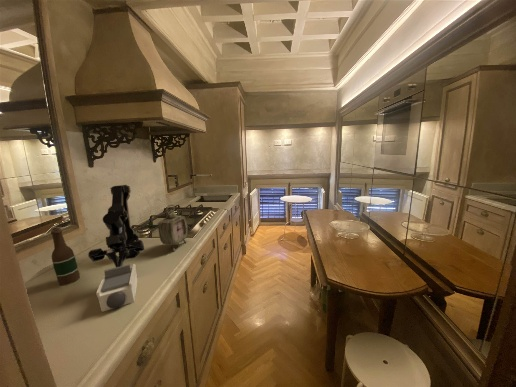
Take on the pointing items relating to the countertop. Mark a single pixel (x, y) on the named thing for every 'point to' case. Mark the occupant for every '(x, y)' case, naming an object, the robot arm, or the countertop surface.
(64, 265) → the beer bottle
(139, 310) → the countertop surface
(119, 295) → the white open box
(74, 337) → the countertop surface
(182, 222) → the tabletop clock
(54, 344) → the countertop surface
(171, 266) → the countertop surface
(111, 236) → the robot arm
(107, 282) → the door
